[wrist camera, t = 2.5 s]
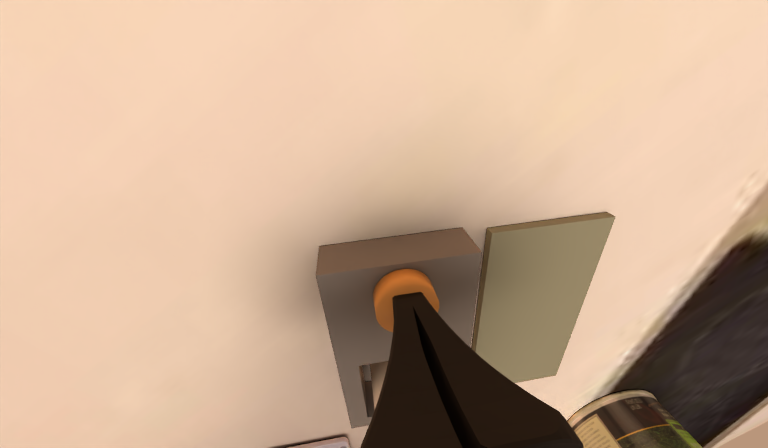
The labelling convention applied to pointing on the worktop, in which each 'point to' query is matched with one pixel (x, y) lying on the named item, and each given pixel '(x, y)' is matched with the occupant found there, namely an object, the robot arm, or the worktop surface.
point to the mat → (535, 291)
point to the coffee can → (629, 423)
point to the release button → (400, 293)
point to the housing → (356, 305)
